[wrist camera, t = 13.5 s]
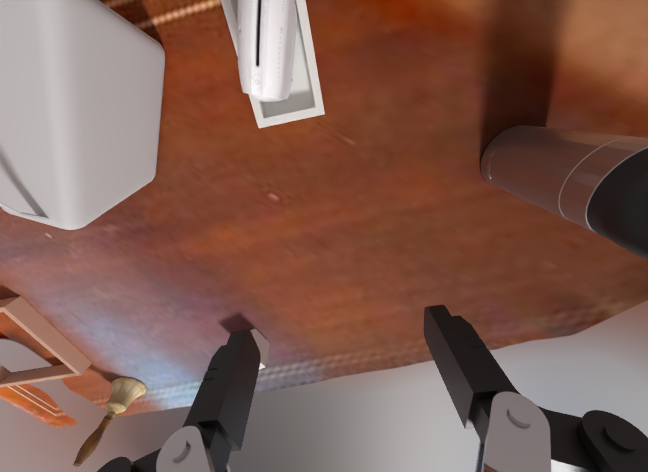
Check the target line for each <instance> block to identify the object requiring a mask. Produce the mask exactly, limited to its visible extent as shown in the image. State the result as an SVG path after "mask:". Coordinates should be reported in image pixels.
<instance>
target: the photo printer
mask: <svg viewBox="0 0 648 472" xmlns="http://www.w3.org/2000/svg"><path fill="white" fill-rule="evenodd" d="M296 28H297V11H296V4H295V0H238V17H237V47H238V69H239V75H240V82H241V87H242V91H243V92H244V93H247V94H249V95H250V96H252V97H253V98H254V99H256V100H259V101H262V102H273V101H281V100H284V99H288V97H289V94H290V90H291V83H292V75H293V66H294V56H295V43H296Z"/></svg>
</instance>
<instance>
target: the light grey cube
mask: <svg viewBox="0 0 648 472" xmlns="http://www.w3.org/2000/svg"><path fill="white" fill-rule="evenodd" d="M250 331H251V333H252V335H253V337H254V339H255V341H256V344H257V346H258V348H259V350H260V355H261V361H260V367H259V369H262V368H264V367H266V362H267V357H268V352H269V346H270V343H269V342H268V341H267V340H266V339H265V338H264V337H263V336H262V335H261V334H260V333H259V332H258V331H257V330H256V329H252V330H250Z"/></svg>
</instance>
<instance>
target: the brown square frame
mask: <svg viewBox="0 0 648 472" xmlns="http://www.w3.org/2000/svg"><path fill="white" fill-rule="evenodd" d="M0 312H4V313H5V314H7V315H8V316H9V317H10V318H11V319H12V320H14V321H15V322H16V323H17V324H18V325H19V326H21V327H22V328H23V329H24V330H25V331H26V332H28V333H29V334H30V335H31V336H32V337H33V338H35V339H36V340H37V341H38V342H39V343H41V344H42V345H43V346H44V347H45V348H46V349H48V350H49V351H50V352H51V353H52V354H53V355H55V356H56V357H57V358H58V359H59V360H60V361H62V362H63V363H64V364H63V365H56V366H50V367H44V368H38V369H32V370H25V371H19V372H12V373H11V372H10V371H8V370H7V369H6V368H4V367H3V366H2V365H0V388H1V387H7V386H13V385H20V384H26V383H33V382H39V381H45V380H52V379H59V378H65V377H72V376H78V375H82V374H83V373H84V372H85V371H86V370H87V368H88V367H89V366H90V365H91V364H92V362H91V361H90V360H89V359H88V358H87V357H86V356H85V355H84V354H82V353H81V352H80V351H79V350H78V349H77V348H76V347H75V346H74V345H73V344H72V343H71V342H70V341H69V340H67V339H66V338H65V337H64V336H63V335H62V334H61V333H60V332H59V331H58V330H57V329H56V328H55V327H54V326H52V325H51V324H50V323H49V322H48V321H47V320H46V319H45V318H44V317H43V316H42V315H41V314H40V313H39V312H37V311H36V310H35V309H34V308H33V307H32V306H31V305H30V304H29V303H28V302H27V301H26V300H25V299H24V298H22V297H21V296H18V297H13V298H7V299H2V300H0Z"/></svg>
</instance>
